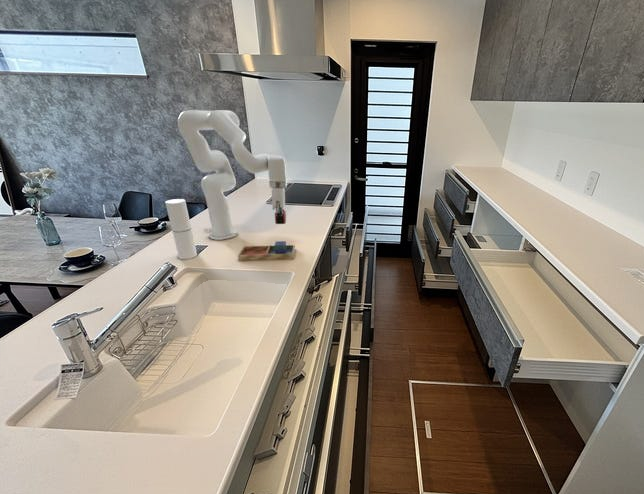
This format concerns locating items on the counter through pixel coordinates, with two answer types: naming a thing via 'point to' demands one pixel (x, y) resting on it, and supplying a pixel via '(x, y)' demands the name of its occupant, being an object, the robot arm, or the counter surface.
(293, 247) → the tray
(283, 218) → the red block
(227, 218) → the robot arm
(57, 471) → the counter surface
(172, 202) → the cylindrical container
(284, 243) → the blue block
